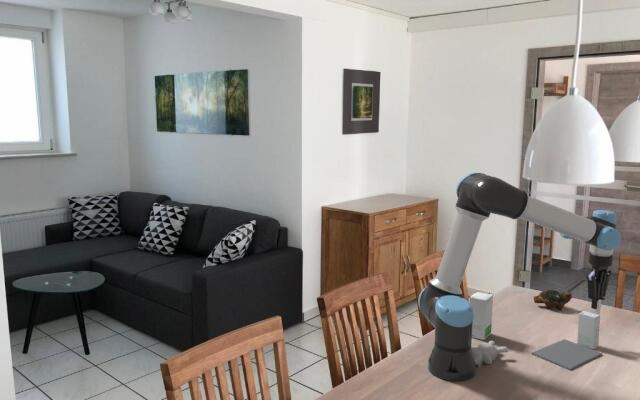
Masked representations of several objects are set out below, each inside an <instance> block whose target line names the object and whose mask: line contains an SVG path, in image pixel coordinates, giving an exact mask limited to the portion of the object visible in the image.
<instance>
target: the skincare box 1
mask: <svg viewBox="0 0 640 400" xmlns="http://www.w3.org/2000/svg"><path fill="white" fill-rule="evenodd" d="M493 300H494V294H490V293H485V292H481V291H477V292H475V293H473V294H472V295H471V296H470V297H469V302H470V303H471V305H472V307H473V314H474V317H473V327H472V338H473V339H477V340H481V341H485V340H486V339H487V338H488V337H490V335H491V334H492V324H493V323H492V321H493V307H494V306H493V302H494V301H493Z"/></svg>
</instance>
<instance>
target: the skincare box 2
mask: <svg viewBox="0 0 640 400" xmlns="http://www.w3.org/2000/svg"><path fill="white" fill-rule="evenodd" d="M600 320H601V314H600V315H598V314H594V313H591V311H586V310H583V311H581V312H579V313H578V321H577V324H578V325H577V337H576V339H577V340H576V344H579V345H582V346H584V347H587V348H590V349H592V350H596V349H597V348H598V347H599V341H600V323H601V321H600Z"/></svg>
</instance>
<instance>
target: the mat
mask: <svg viewBox="0 0 640 400" xmlns="http://www.w3.org/2000/svg"><path fill="white" fill-rule="evenodd" d="M531 355H533V356H535V357H537V358H540V359H542V360H545V361H547V362H549V363H552V364H554V365H557V366H559V367H561V368H563V369H566V370H569V371H572V370H573V369H575V368H577V367H579V366H581V365H584V364H585V363H588V362H590V361H592V360H594V359H596V358H598V357H600V356H602V355H603V352H601V351H599V350H598V351H597V350H596V349H591V348H588V347H585V346H582V345H579V344H577V342H574V341H570V340H568V339H565V338H563V339H561V340H559V341H556V342H554V343H552V344H549V345H547V346H545V347H543V348H542V347H541V348H540V349H538V350H535V351H533V352H531Z"/></svg>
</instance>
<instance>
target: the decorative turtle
mask: <svg viewBox="0 0 640 400" xmlns="http://www.w3.org/2000/svg"><path fill="white" fill-rule="evenodd" d="M572 298H573V295H572V293H571V292H570V291H563V292H562V293H561V292H560V291H557V290H555V289H547V290H544V291H541V292H539V294H538V295H535V296H533V298H532V299H533V302H534V303H535V304H544V305H545V307H546V309H547V310H552V309H553V308H555V309H556V310H557V311H559V312H561V311H562V310H563V309H564V307H565V305H567V304H568V303H569V302H570V301H571V300H572Z"/></svg>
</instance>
